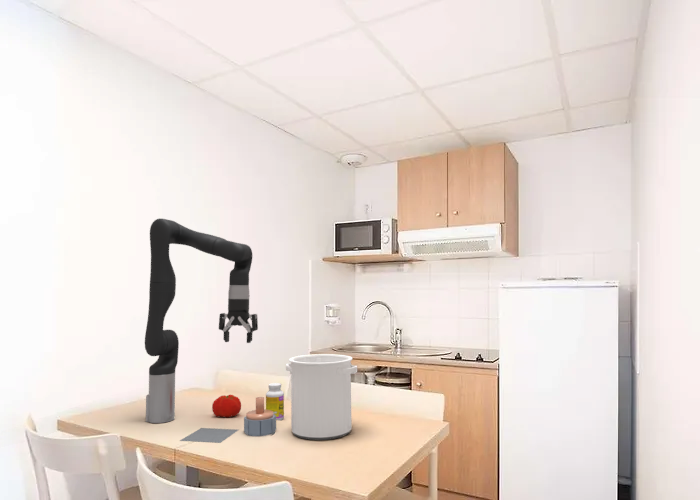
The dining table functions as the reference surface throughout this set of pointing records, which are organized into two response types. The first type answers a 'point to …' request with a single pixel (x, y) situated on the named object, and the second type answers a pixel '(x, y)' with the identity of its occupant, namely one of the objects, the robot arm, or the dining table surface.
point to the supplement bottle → (275, 400)
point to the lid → (259, 411)
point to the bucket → (321, 395)
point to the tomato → (226, 406)
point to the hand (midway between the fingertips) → (237, 342)
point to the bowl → (260, 426)
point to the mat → (210, 435)
